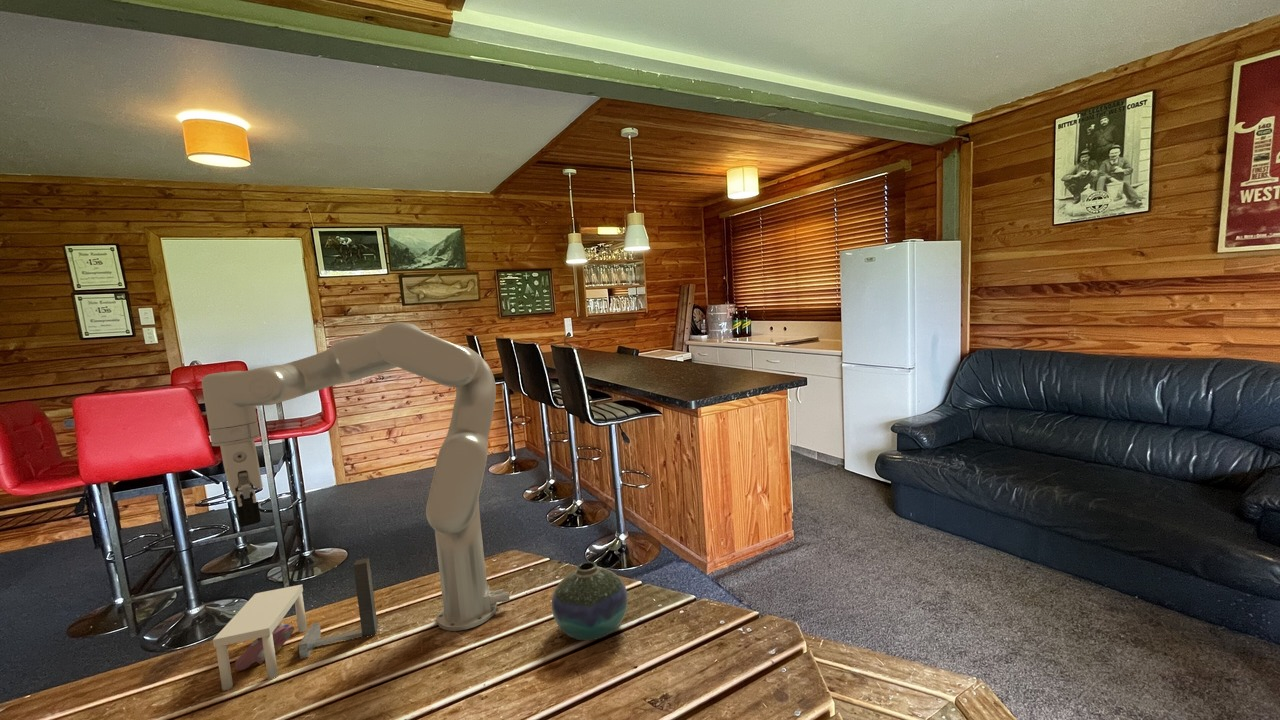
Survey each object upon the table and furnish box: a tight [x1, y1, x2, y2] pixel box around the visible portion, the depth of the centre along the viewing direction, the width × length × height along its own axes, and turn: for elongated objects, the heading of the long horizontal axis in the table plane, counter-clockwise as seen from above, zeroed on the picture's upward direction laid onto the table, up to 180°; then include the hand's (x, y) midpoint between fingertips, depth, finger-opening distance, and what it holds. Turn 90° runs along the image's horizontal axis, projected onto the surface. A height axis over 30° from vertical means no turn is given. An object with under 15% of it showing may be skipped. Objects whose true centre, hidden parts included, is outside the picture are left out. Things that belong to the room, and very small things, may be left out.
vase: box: [551, 561, 629, 641], centre depth 105 cm, size 15×15×13 cm
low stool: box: [212, 584, 308, 692], centre depth 105 cm, size 9×18×10 cm, turn 16°
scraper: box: [298, 557, 379, 660], centre depth 109 cm, size 13×8×16 cm, turn 106°
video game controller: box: [234, 622, 295, 671], centre depth 106 cm, size 10×5×7 cm, turn 169°
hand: (249, 518), depth 103 cm, fingers open, 9 cm apart
